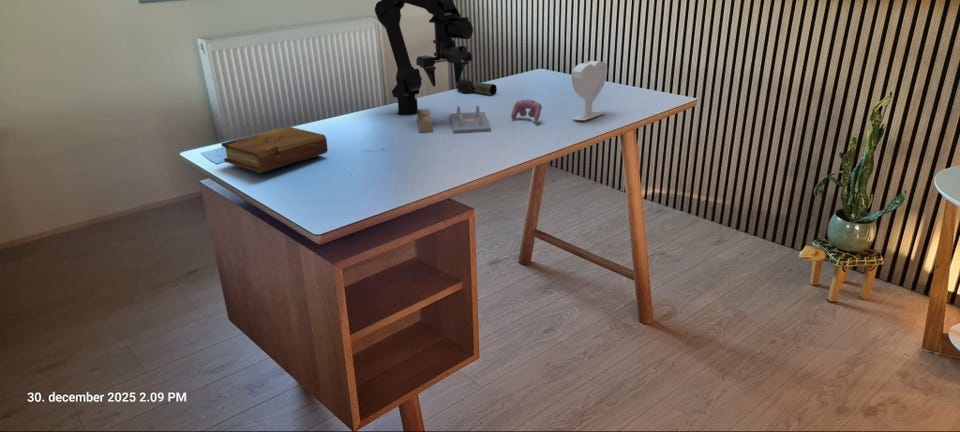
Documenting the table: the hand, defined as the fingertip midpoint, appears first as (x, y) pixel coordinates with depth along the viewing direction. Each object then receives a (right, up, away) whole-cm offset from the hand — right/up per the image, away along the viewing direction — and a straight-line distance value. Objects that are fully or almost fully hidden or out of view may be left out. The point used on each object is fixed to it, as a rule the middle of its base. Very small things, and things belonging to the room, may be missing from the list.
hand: (445, 84), depth 226 cm
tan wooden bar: (-7, -15, -2) cm, 16 cm away
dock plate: (+8, -13, -1) cm, 16 cm away
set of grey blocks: (+8, -13, -1) cm, 16 cm away
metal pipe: (+14, 0, +37) cm, 39 cm away
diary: (-48, -27, -28) cm, 62 cm away
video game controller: (+27, -12, 0) cm, 30 cm away
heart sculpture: (+49, -10, +4) cm, 50 cm away
